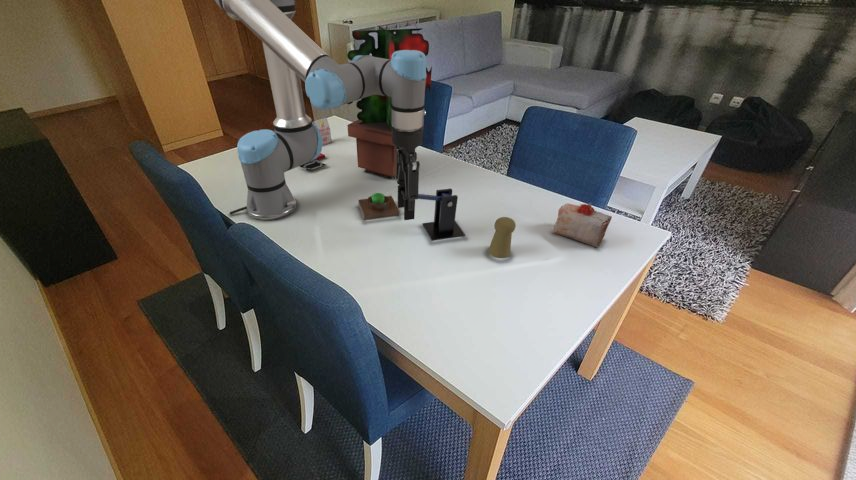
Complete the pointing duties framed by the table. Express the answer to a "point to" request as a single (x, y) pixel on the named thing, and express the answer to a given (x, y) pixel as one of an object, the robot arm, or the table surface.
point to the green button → (378, 198)
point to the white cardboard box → (324, 130)
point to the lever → (426, 196)
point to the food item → (582, 223)
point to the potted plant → (381, 101)
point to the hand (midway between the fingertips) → (405, 212)
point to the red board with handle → (314, 163)
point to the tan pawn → (502, 237)
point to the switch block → (378, 208)
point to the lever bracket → (444, 218)
